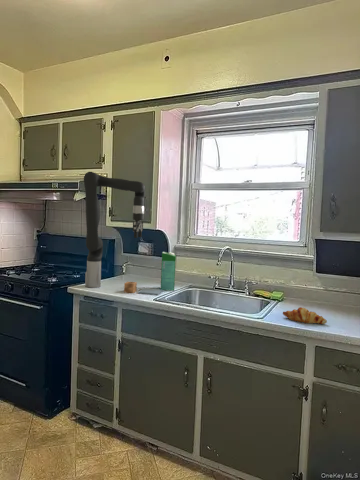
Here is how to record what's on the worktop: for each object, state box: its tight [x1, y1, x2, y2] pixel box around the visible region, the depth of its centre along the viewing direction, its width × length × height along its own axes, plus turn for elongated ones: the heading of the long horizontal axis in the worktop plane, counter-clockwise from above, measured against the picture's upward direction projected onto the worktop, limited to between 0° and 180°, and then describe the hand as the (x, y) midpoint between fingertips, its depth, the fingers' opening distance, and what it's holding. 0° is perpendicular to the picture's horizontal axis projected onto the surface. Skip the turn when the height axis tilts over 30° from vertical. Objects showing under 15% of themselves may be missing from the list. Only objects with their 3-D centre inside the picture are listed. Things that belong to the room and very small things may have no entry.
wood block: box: [123, 281, 138, 294], centre depth 226 cm, size 6×6×6 cm
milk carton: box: [160, 251, 177, 292], centre depth 239 cm, size 9×9×25 cm
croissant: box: [282, 307, 328, 325], centre depth 178 cm, size 21×10×8 cm, turn 64°
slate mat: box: [137, 287, 164, 296], centre depth 228 cm, size 13×13×1 cm
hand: (137, 237), depth 234 cm, fingers open, 8 cm apart
